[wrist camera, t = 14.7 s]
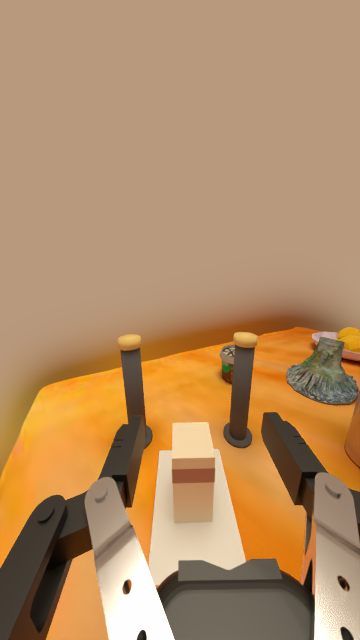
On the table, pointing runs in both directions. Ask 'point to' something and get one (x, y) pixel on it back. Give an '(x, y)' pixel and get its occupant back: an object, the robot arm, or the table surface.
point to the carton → (192, 472)
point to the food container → (227, 362)
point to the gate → (241, 385)
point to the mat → (192, 527)
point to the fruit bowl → (355, 345)
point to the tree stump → (324, 375)
